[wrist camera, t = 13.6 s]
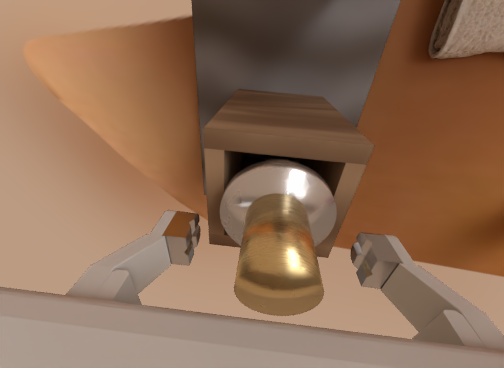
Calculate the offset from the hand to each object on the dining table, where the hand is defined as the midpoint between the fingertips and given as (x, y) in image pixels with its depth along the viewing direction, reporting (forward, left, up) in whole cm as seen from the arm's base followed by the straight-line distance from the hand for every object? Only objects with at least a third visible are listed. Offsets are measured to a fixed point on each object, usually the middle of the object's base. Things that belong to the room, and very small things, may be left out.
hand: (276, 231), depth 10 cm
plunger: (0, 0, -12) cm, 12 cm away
